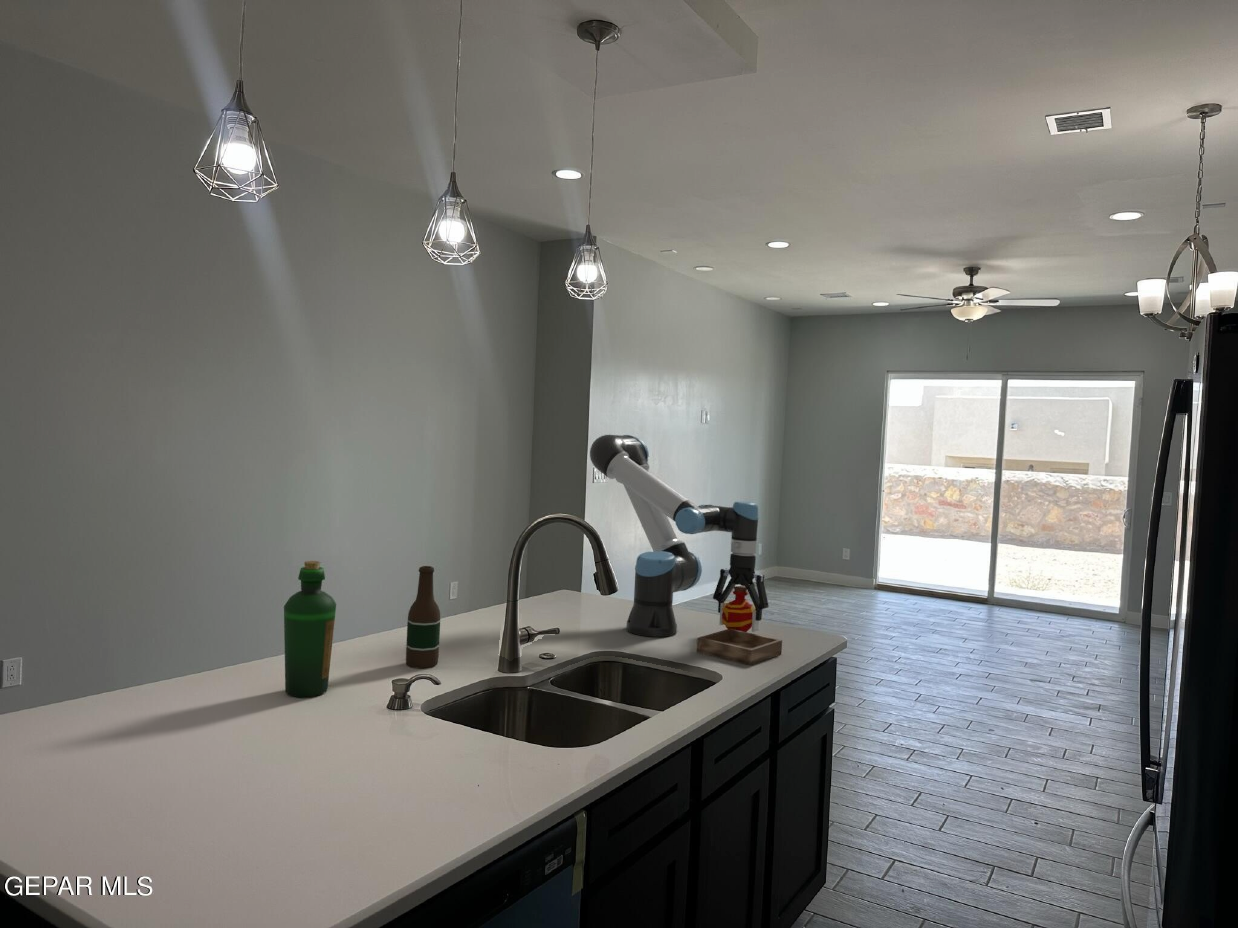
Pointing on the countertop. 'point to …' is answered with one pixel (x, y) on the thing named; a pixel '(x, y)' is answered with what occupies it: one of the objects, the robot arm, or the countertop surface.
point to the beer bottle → (423, 624)
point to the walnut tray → (739, 646)
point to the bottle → (308, 634)
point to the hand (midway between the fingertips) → (738, 627)
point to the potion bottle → (738, 611)
